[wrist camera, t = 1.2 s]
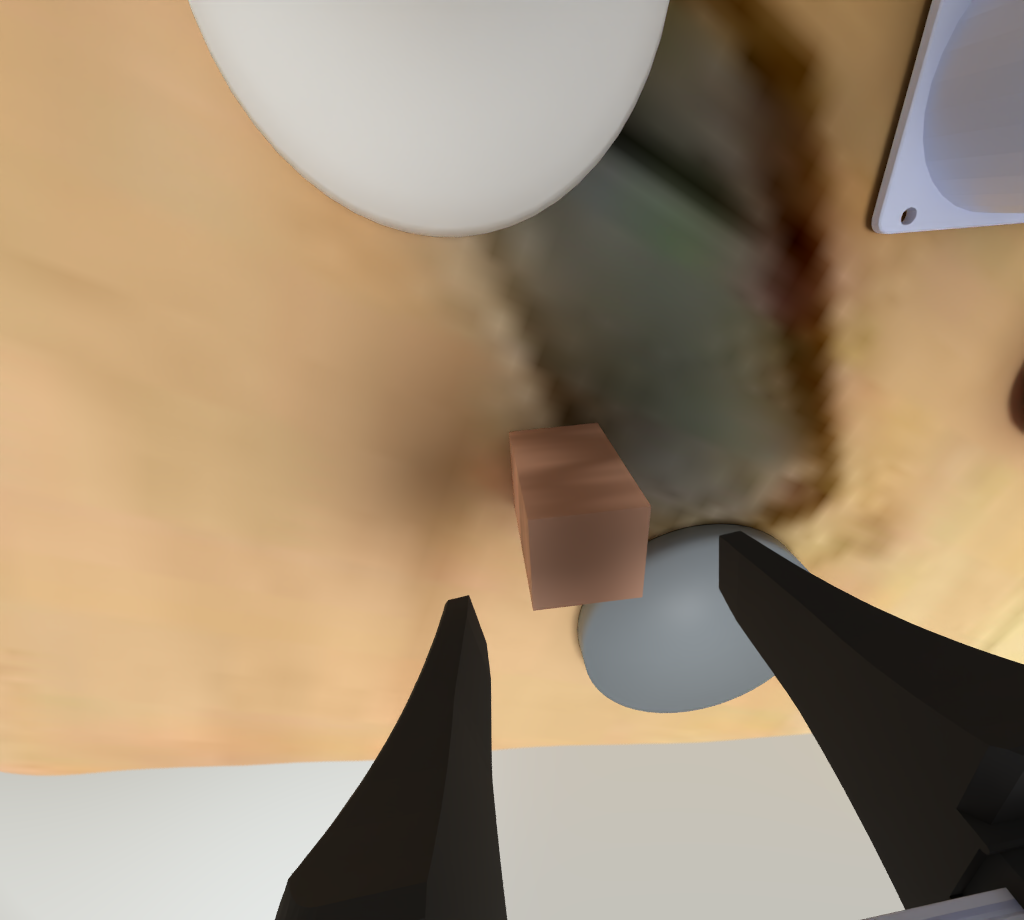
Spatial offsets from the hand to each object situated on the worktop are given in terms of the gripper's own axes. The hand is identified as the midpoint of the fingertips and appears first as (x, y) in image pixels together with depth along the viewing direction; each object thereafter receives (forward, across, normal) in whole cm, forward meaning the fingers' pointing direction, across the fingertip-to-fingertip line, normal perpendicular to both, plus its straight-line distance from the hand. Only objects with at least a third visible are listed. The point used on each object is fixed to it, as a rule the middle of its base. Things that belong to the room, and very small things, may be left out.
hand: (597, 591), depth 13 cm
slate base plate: (+7, -6, +11) cm, 14 cm away
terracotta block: (+7, 0, 0) cm, 7 cm away
